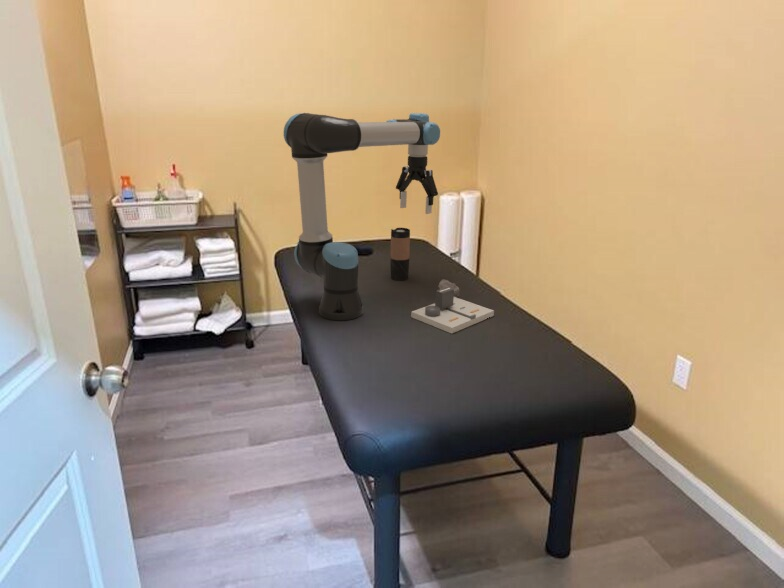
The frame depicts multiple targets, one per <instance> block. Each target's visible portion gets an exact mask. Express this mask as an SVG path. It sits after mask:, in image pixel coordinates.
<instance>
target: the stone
mask: <svg viewBox="0 0 784 588" xmlns="http://www.w3.org/2000/svg"><path fill="white" fill-rule="evenodd" d="M446 287H449V288H452V289H454V297H456V298H458V297H459V296H460V288H459V286H457V285H456V283H453V282H450V281H449V280H448V279H444V278H443V279H441V280H440V282H439V283H438V290H440V289H443V288H446Z"/></svg>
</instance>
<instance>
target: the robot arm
mask: <svg viewBox="0 0 784 588" xmlns="http://www.w3.org/2000/svg"><path fill="white" fill-rule="evenodd" d="M440 138H441V128H440V126H439V125H438V124H437V123H436V122H431V121H430V117H429V114H428V113H421V112H420V113H419V112H416V113H415V112H412V113H410V114H409V116H408V118H407V119H406V118H405V119H403V118H402V119H401V118H399V119H395V118H393V119H388V120H386V121H376V122H374V121H370V122H369V121H366V122H362V121H357V120H356V119H354V118H342V117H335V116H331V115H326V114H317V113H309V112H303V113H301V112H299V113H295V114H293V115H291V116H290V117H289V118H288V120H287V121H286V122H285V124H284V127H283V139H284V141H285V143H286V144H287V146H288V147H290V151H291V158H292V159H293V160H294V161H295V162H296V165H297V167H296V168H297V180H298V191H299V192H298V193H299V202H300V203H299V204H300V214H301V227H302V233H300V235H299V236H298V241H297V243H296V244H297V245H296V246H295V247H294V250H293V251H294V253H293V255H294V260H295V263H296V264H297V265H298V266H299V267H300V269H302V270H303V271H306V272H307V273H309V274H313V275H315V276H318V277H320V278H323V293H322V297H321V300H320V303H319V305H318V313H319V315H320V316H321V317H322V318H324V319H327V320H331V321H350V320H354V319H357V318H359V317H361V316H362V315H364V304H363V302H362V298H361V296H360V293H359V261H360V260H359V255H358V253H359V252H358V250H357V248H356V247H354V246H353V245H352V244H351V243H347V242H346V243H345V242H343V243H342V242H340V241H333V240H334V238H333V234H332V233H331V232H329V229H328V216H327V215H328V214H327V200H326V199H327V198H326V184H325V169H324V168H325V167H324V161H325V160H326V159H327V157H328V154H334V153H341V152H351V151H357V150H358V149H359V148H364V147H365V148H366V147H382V146H383V147H386V146H403V145H404V146H405V145H406V146H407V145H408V146H407V148H408V149H407V155H408V156H407V166H403V167H401V173H400V176H399V178H398V181H397V183H396V185H395V190H398V191H399V200H400V209H404V208H407V197H408V196H407V195H408V193H407V192H408V191H407V189H408V187H409V186H410V184H412V182H413V181H416V182H419V183H421V186H422V188H423V189H424V191H425V193H426V195H427V196H426V197H425V212H424V213H425V215H429V214H432V211H433V210H432V209H433V205H434V197H437V196H438V195H439V193H438V188H437V186H436V182H435V180H434V176H433V175H434V173H433V169H428V170H427V167H428V153H429V152H428V151H429V150H428V149H429V146H433V145H435V144H437V143H438V142H439V140H440Z"/></svg>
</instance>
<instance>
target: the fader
mask: <svg viewBox="0 0 784 588" xmlns="http://www.w3.org/2000/svg"><path fill="white" fill-rule="evenodd" d="M453 299H454V289H452V288H449V287H446V288H443V289H440V290H439V289H437V290H435V299H434V300H435V301H434V303H435V306H438V307H440V309H441V310H443V309H445V308H448V307H451V306H453Z"/></svg>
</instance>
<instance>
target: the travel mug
mask: <svg viewBox="0 0 784 588" xmlns="http://www.w3.org/2000/svg"><path fill="white" fill-rule="evenodd" d="M410 242H411V229H410V228H406V227H396V228H395V229H393V228H391V229H390V258H389V259H390V263H389V264H390V279H392V280H393V281H399V282H400V281H406V280H408V279H409V270H410V254H411V253H410V247H411V243H410Z"/></svg>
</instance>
